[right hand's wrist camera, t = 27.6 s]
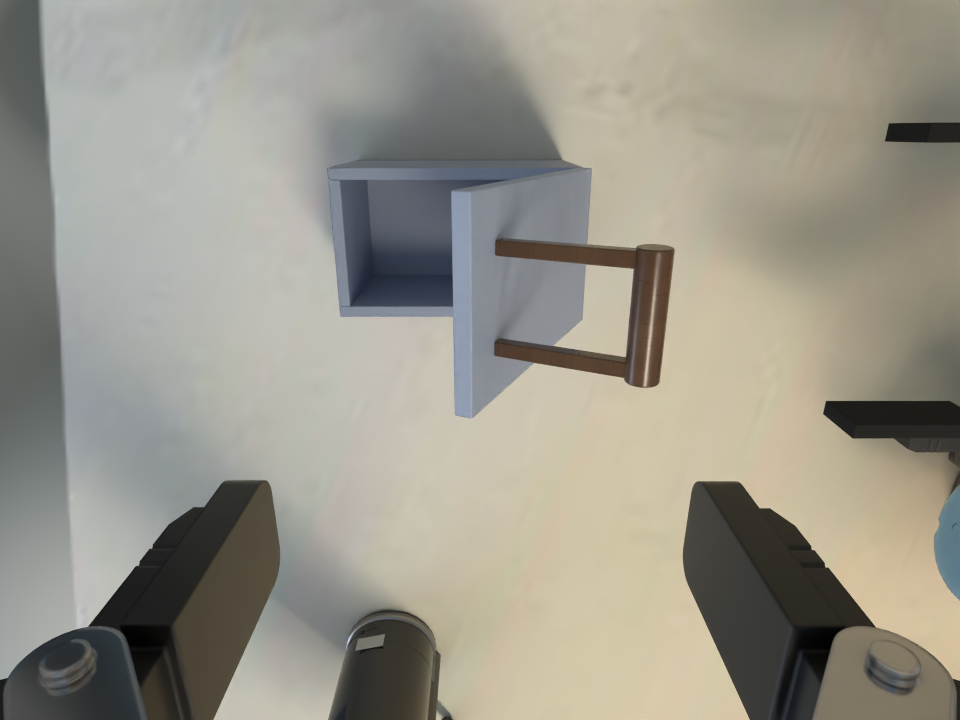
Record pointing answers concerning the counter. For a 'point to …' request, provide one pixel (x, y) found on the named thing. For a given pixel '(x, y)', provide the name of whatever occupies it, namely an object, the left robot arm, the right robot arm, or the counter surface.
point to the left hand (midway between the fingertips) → (868, 288)
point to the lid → (541, 286)
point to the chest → (405, 230)
